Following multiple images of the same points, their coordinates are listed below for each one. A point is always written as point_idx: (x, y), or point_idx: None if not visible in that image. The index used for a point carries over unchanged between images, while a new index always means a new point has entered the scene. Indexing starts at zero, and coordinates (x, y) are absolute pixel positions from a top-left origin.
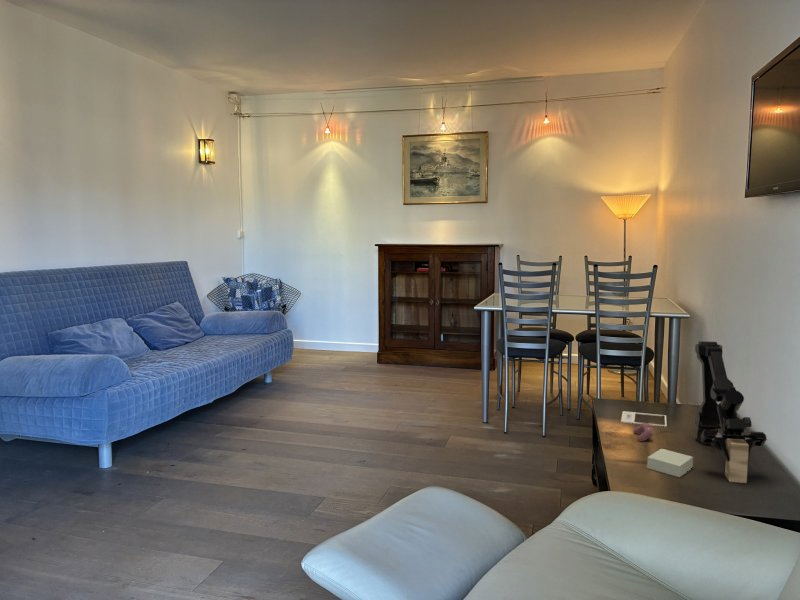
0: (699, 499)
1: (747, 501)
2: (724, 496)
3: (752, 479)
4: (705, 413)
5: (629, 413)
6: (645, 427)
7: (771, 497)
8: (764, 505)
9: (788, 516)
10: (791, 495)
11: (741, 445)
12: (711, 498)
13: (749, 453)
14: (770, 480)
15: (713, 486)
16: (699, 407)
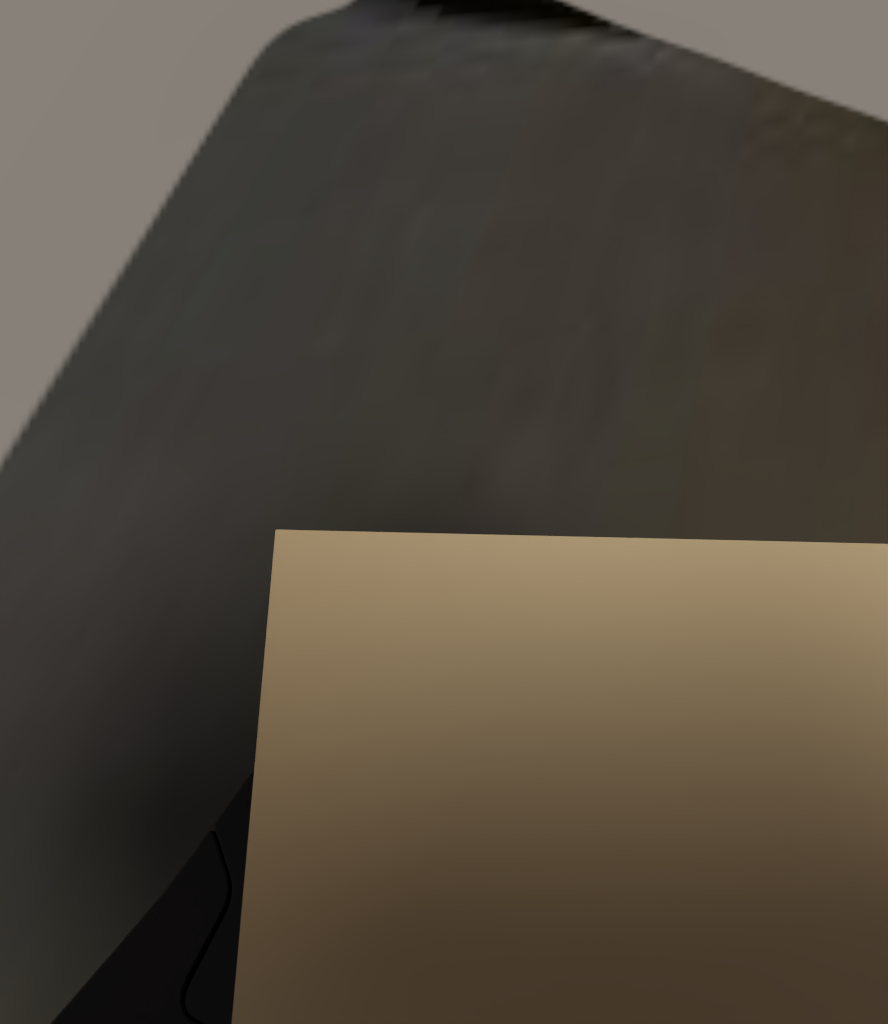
0: (877, 220)
1: (515, 229)
2: (677, 293)
3: None
4: None
5: None
6: None
7: (279, 323)
8: (404, 179)
9: (298, 43)
10: (67, 387)
11: (609, 538)
12: (786, 246)
13: (245, 785)
14: (84, 744)
15: (736, 481)
16: None
